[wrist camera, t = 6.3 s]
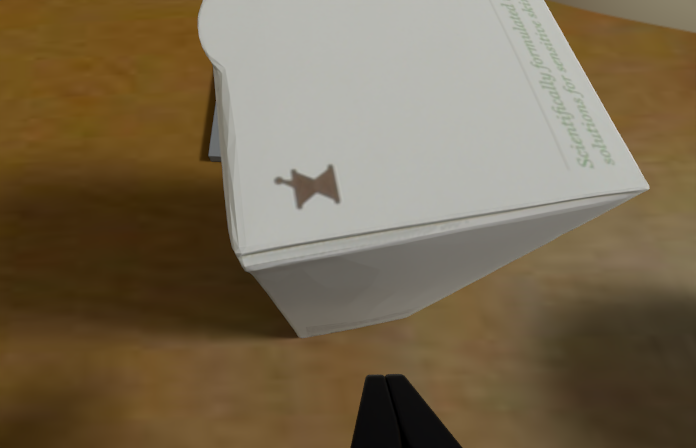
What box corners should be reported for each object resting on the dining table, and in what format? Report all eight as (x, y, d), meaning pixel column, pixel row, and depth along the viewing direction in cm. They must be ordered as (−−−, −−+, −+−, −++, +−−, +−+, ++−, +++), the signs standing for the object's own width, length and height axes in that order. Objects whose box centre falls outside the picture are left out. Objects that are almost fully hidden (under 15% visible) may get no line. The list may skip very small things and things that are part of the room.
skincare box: (407, 319, 20) (690, 216, 5) (288, 342, 19) (211, 297, 4) (375, 185, 22) (498, -134, 8) (270, 198, 21) (183, -140, 7)
